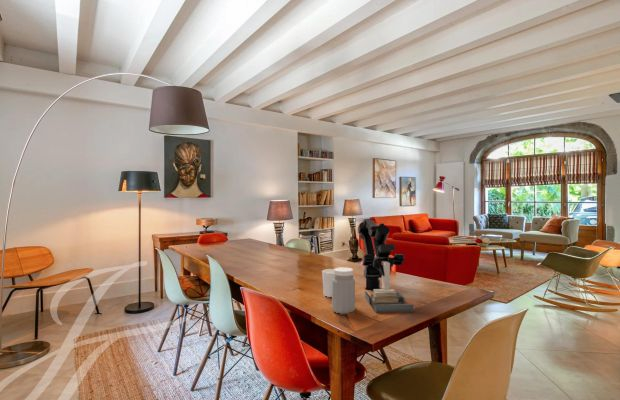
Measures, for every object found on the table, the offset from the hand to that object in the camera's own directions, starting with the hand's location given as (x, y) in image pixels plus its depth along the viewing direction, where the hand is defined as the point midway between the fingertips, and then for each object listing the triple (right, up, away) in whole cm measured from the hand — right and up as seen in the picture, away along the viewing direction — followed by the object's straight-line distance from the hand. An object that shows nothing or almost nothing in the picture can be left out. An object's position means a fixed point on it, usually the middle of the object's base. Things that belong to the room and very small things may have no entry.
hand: (386, 275), depth 147 cm
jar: (-20, -14, -7) cm, 25 cm away
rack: (0, -13, -1) cm, 13 cm away
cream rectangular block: (0, -6, +2) cm, 6 cm away
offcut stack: (0, -13, +4) cm, 14 cm away
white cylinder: (-24, -13, +15) cm, 31 cm away
